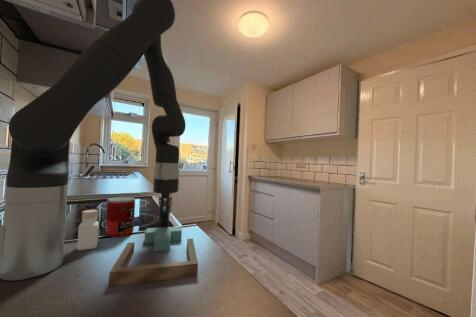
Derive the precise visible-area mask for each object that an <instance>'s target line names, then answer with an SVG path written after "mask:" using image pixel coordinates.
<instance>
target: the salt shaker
mask: <svg viewBox="0 0 476 317" xmlns="http://www.w3.org/2000/svg"><path fill="white" fill-rule="evenodd" d="M81 215H82V216H81V219H82V221H81V223H80V224H79V225H78V233H77V247H76V249H77V250H78V251H87V250H92V249H93V250H94V249H95V248H97V245H98V243H99V242H98V241H99V226H100V222H99V221H98V220H97V218H98V210H97V209H87V210H83V211H82V212H81Z"/></svg>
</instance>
